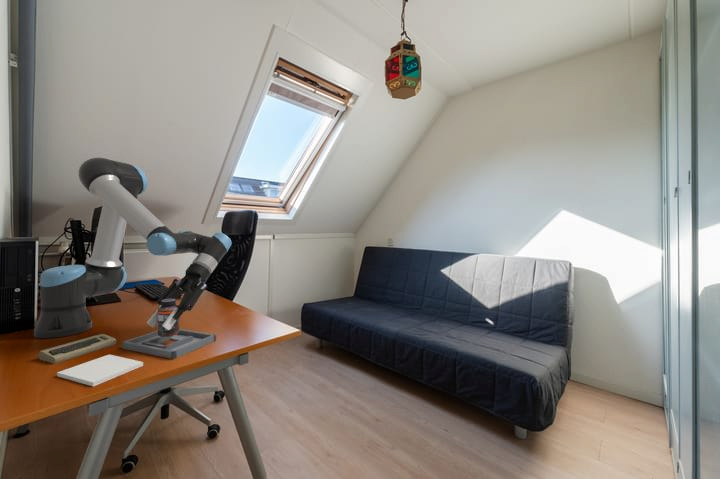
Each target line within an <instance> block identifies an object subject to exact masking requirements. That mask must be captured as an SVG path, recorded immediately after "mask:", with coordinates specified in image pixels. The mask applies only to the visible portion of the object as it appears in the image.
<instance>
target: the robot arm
mask: <svg viewBox="0 0 720 479" xmlns="http://www.w3.org/2000/svg"><path fill="white" fill-rule="evenodd" d="M78 180H79V181H80V183H81V185H82V186H83V187H84V188H85V189H86V190H87V191H88V192H89V193H90V194H91V195H93V196H94V197H98V198H100V199H101V200H103V202H102V207H101V212H100V217H99V219H98V220H99V221H98V225H97V230H96V235H95V239H94V244H93V249H92V254H91V256H90V257H88V258H87V259H85V262H84V265H83V264H69V265H61V266H55V267H50V268H48V269H45V270H43V271H42V272H41V274H40V279H39V288H40V289H39V290H40V313H39V317H38V318H37V319H38V320H37V322H36V324H35V327H34V329H33V337H34V338H37V339H54V338H62V337H69V336H72V335H77V334H80V333H83V332H87V331H89V330H90V329H92V328H93V320H92V318H91V315H90V314H89V311H88V310H87V307H86V305H87V302H86V298H91V297H96V296H101V295H107V294H111V293H113V292H114V293H115V292H117V291H119V290H121V288H122V287H123V286H124V285H125V283H126V281H127V276H128V275H127V274H128V273H127V271H126V269H125V267H124V266H123V262H122V261H121V260H120V256H121V250H122V246H123V242H124V237H125V233H126V228H127V224H128V225H130V226H131V227H132V228H133V229H134V230H135V231H136V232H137V233H138V234H139V235H140V236H141V237H142V238H143V239H145V240H146V244H145V245H146V247H147V250H148V252H149V253H151V255H154V256H166V257H167V256H171V255H178V254H179V255H180V254H181V255H182V254H188V253H190V254H196V255H197V256H196V257H195V258H194V259H193V260H192V263H190V265H189V266H188V267H187V268H186V270H185V275H184V276H183V277H182V278H181V279H177V278H174V279H173V280H172V282H171V284H170V285H169V286H168V288H166V290H165V291H164V292H163V293H162V294H161V296H160V297H159V298H158V299H157V300H156V303H157V304H158V307H157V308H156V309H155V311H153V313H152V315H151V316H150V318H149V319H148V320H147V322H146V324H148V325H149V326H150V328H151V327H152V328H155V327H156V325H158V308H159V307H161V301H162V300H164V299H176V300H177V299H178V298H179V297H180V296H181V295H182V298H181V300H180V302H179V305H177V307H178V308H179V309H178V308H175V309H174V310H173V311H172V313H171V314H170V316H169V317H168V318H167V320H166V321H165V322H164V324H163V325H162V326H163V327H164V328H165V329H167V330H170V329H171V327H172V326H173V325H174V323H175V322H176V320H178V319H179V320H180V318H181V316H182V315H183V313H185V312H186V311H188V312H191V311H192V309H193V308H194V306H195V305H196V303H197V302H198V300H199V298H200V297H201V295H202V294H203V293H204V292H205V290H207V288H208V285H207V284H206V282H207V280H208V279H209V277H210V276H211V274H212V273H213V272H214V270H215V269H216V268H217V266H218V265H219V263H220V262H221V260H222V259H223V258H224V256H225V255H226V254H227V253H228V251H229V249H230V248H231V246H232V243H233V242H232V240H231V238H230V237H229V236H228V235H226V234H225V233H222V232H216V233H214V234H212V236H208V235H203V234H200V233H196V232H193V231H190V230H189V231H188V230H184V229H183V230H179V231H178V232H173V231H172V230H171V229H170V228H169V227H167V226H166V225H165V224H164V223H163V222H162V221H161V220H160V219H158V217H156V216H155V215H154V214H153V213H152V212H151V211H150V210H149V209H148V208H147V207H146V206H145V205H143V203H141V202H140V201H139V200H138V197H139V195H142V194H143V193H144V192H146V190H147V188H148V178H147V175H146V174H145V172H144V171H143V170H142V168H140V167H138V166H135V165H133V164H130V163H126V162H121V161H117V160H113V159H112V160H111V159H110V158H109V159H108V158H105V157H92V158H89V159H87V160H85V161H84V162H83V163H81V164H80V166H79V169H78Z"/></svg>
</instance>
